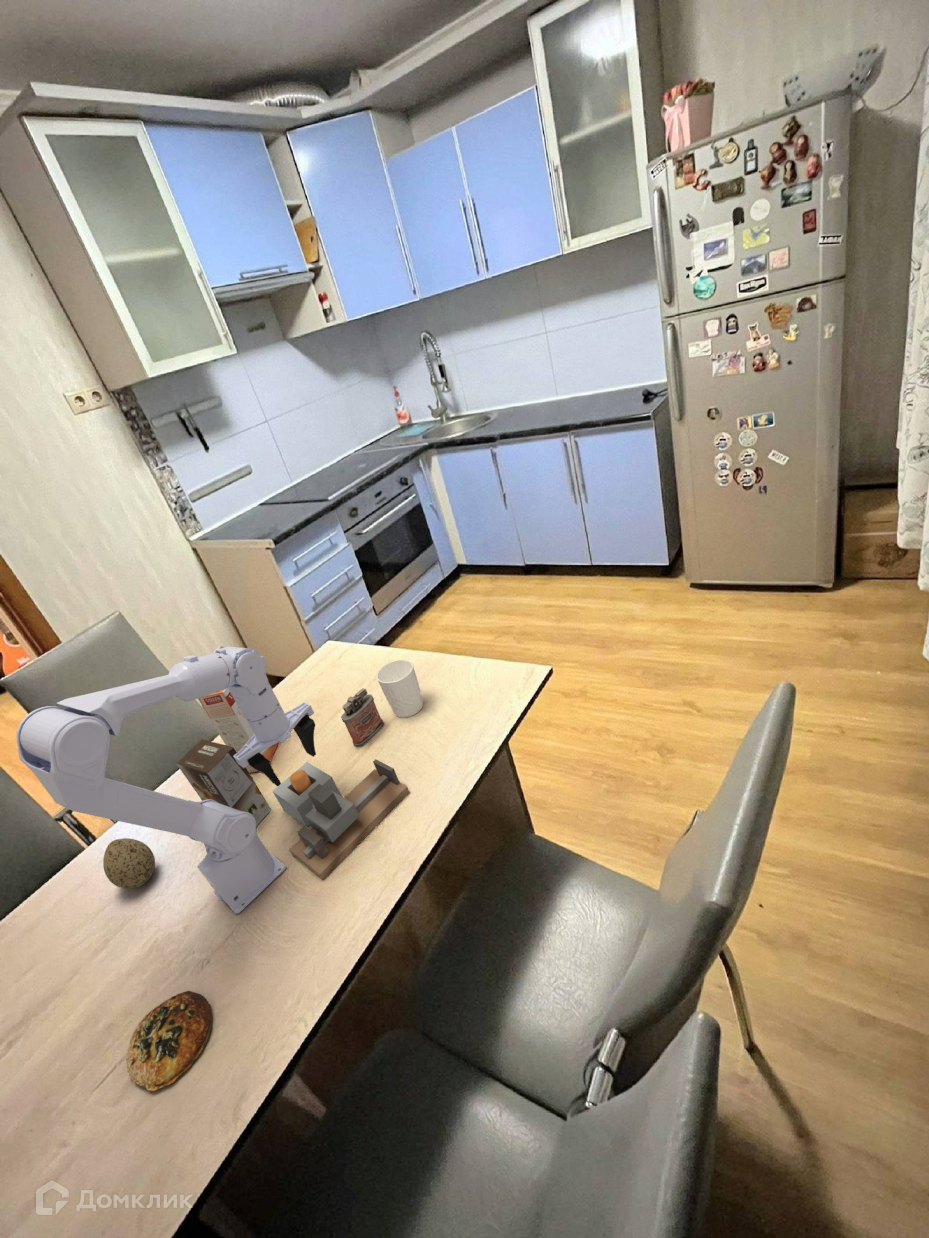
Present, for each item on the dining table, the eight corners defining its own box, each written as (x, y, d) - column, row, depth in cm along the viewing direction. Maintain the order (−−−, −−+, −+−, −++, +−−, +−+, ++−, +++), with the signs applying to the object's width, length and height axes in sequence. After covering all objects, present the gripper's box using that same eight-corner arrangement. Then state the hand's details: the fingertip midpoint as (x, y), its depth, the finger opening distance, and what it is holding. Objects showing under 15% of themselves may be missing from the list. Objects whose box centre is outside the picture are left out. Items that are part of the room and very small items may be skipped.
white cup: (385, 719, 121) (370, 683, 116) (399, 695, 128) (385, 659, 123) (418, 720, 118) (404, 682, 114) (431, 695, 125) (418, 658, 120)
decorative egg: (168, 876, 99) (138, 839, 94) (126, 906, 95) (93, 869, 90) (158, 854, 104) (128, 817, 99) (118, 882, 101) (85, 846, 96)
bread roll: (226, 987, 79) (206, 974, 76) (203, 1088, 70) (179, 1077, 67) (154, 1002, 80) (132, 989, 77) (122, 1103, 71) (96, 1093, 68)
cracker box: (269, 770, 116) (223, 691, 106) (242, 775, 117) (193, 697, 107) (288, 724, 128) (248, 649, 118) (263, 729, 129) (222, 655, 119)
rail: (323, 880, 90) (311, 860, 88) (292, 855, 96) (280, 835, 94) (409, 792, 102) (401, 772, 99) (377, 774, 108) (368, 755, 105)
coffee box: (273, 808, 107) (235, 746, 99) (248, 836, 102) (207, 773, 94) (240, 798, 111) (202, 738, 104) (216, 824, 107) (173, 763, 99)
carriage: (332, 842, 92) (316, 813, 89) (311, 827, 96) (295, 799, 93) (359, 815, 96) (345, 787, 92) (338, 802, 100) (323, 774, 96)
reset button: (305, 802, 102) (295, 785, 100) (296, 796, 104) (286, 778, 102) (318, 790, 104) (308, 773, 102) (309, 784, 106) (299, 767, 104)
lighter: (361, 749, 115) (344, 712, 110) (350, 744, 117) (332, 707, 112) (387, 723, 120) (372, 686, 115) (376, 719, 122) (361, 683, 117)
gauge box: (307, 827, 100) (297, 808, 98) (283, 809, 106) (272, 791, 103) (342, 795, 105) (332, 777, 103) (316, 780, 110) (306, 761, 108)
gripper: (235, 746, 87) (271, 806, 94) (310, 689, 95) (339, 748, 102) (214, 732, 91) (251, 790, 98) (288, 679, 100) (316, 736, 106)
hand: (294, 768), depth 100 cm, fingers open, 7 cm apart
